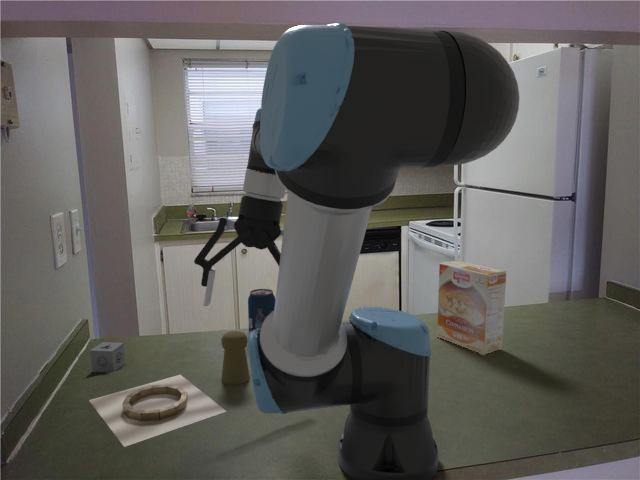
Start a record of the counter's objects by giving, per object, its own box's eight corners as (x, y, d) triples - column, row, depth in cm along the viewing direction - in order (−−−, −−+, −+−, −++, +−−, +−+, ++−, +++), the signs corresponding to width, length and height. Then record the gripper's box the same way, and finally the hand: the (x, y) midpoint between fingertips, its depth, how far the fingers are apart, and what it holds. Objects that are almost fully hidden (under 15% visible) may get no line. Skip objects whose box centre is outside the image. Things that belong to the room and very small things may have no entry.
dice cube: (91, 372, 112) (90, 350, 111) (103, 363, 117) (102, 342, 116) (113, 373, 112) (112, 351, 111) (125, 364, 116) (123, 342, 116)
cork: (245, 392, 102) (243, 339, 100) (216, 389, 103) (214, 336, 102) (254, 379, 108) (253, 328, 106) (227, 376, 109) (225, 326, 107)
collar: (197, 407, 93) (197, 400, 93) (136, 427, 87) (135, 419, 86) (172, 386, 102) (172, 379, 102) (115, 403, 95) (115, 395, 95)
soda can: (268, 330, 138) (267, 286, 136) (280, 338, 132) (280, 292, 130) (244, 335, 134) (243, 290, 132) (256, 343, 128) (254, 297, 126)
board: (226, 417, 92) (226, 411, 92) (124, 453, 81) (124, 446, 81) (180, 379, 108) (180, 374, 108) (89, 406, 97) (88, 400, 97)
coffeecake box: (435, 337, 132) (438, 262, 129) (455, 332, 136) (458, 259, 133) (483, 356, 120) (487, 274, 116) (503, 350, 123) (507, 270, 120)
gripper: (330, 208, 97) (309, 316, 100) (198, 183, 96) (181, 294, 99) (332, 211, 90) (310, 327, 92) (189, 184, 89) (171, 303, 91)
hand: (243, 310), depth 96 cm, fingers open, 13 cm apart
